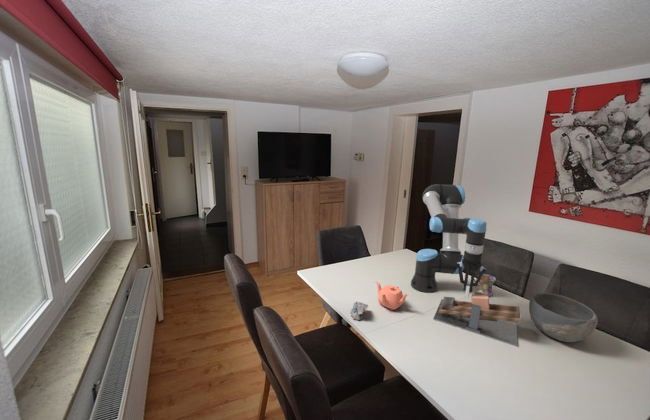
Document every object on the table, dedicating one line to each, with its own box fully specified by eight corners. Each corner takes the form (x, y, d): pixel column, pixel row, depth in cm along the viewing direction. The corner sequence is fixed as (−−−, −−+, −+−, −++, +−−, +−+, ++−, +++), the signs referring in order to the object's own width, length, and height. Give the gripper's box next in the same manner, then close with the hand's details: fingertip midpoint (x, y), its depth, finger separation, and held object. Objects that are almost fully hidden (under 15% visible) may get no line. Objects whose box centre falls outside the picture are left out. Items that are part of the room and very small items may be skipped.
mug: (495, 294, 168) (498, 277, 166) (489, 299, 162) (492, 282, 160) (474, 286, 177) (477, 270, 175) (468, 291, 171) (470, 274, 169)
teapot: (407, 313, 146) (409, 293, 144) (380, 312, 146) (381, 293, 143) (399, 298, 160) (400, 280, 158) (374, 298, 160) (375, 280, 157)
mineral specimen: (353, 322, 145) (371, 324, 140) (345, 318, 140) (364, 319, 134) (355, 303, 150) (373, 304, 145) (348, 298, 145) (366, 299, 139)
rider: (472, 311, 137) (471, 297, 136) (473, 307, 141) (472, 294, 140) (489, 313, 133) (487, 299, 133) (489, 309, 137) (488, 295, 136)
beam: (438, 317, 142) (437, 304, 142) (443, 306, 153) (442, 294, 152) (521, 328, 124) (519, 312, 123) (520, 314, 134) (518, 300, 133)
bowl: (575, 359, 117) (583, 326, 113) (514, 326, 138) (519, 298, 135) (602, 342, 128) (610, 312, 125) (541, 314, 149) (546, 287, 146)
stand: (433, 319, 141) (436, 296, 138) (440, 303, 156) (442, 282, 153) (517, 346, 123) (522, 320, 120) (516, 325, 138) (520, 301, 135)
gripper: (457, 251, 135) (451, 296, 140) (488, 257, 128) (480, 304, 133) (459, 247, 141) (453, 290, 146) (489, 252, 134) (482, 298, 139)
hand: (466, 297), depth 139 cm, fingers closed
